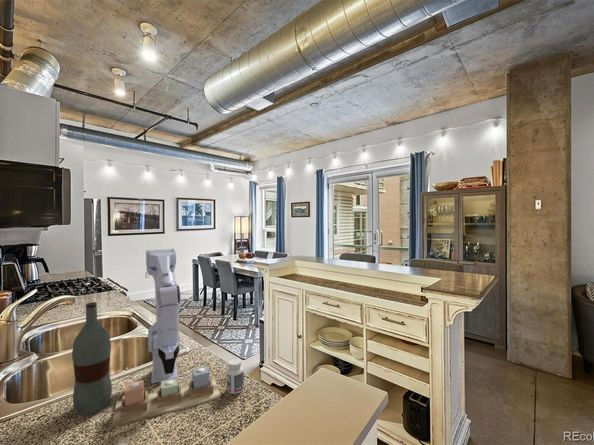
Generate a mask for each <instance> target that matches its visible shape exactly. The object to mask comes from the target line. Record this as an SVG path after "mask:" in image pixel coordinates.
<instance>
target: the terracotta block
mask: <svg viewBox="0 0 594 445" xmlns="http://www.w3.org/2000/svg"><path fill="white" fill-rule="evenodd" d="M144 385H145V384H144V379H142V380H137V381H133V382H132V381H131V382H128V383H125V388H124V396H125V407H126V406H130V405H134V404H138V403H142V402H143V400H144V391H145V389H144V387H145V386H144Z"/></svg>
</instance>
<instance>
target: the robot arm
mask: <svg viewBox="0 0 594 445" xmlns="http://www.w3.org/2000/svg"><path fill="white" fill-rule="evenodd" d="M176 264H177V251H176V249H175V248H167V249H166V248H164V249H147V250H146V251H145V266H146V272H147V275H149V276H152V278H153V281H154V291H155V292H154V293H155V294H154V295H155V317H156V319H155V320H156V321H155V322H154V323H153V324H151V326H150V327H149V328H148V330H147V333H148V334H147V348H148V350H147V351H148V352H149V353H151V354H152V369H151V379H150V380H151V384H156V383H157V384H158V383H161V381H165V380H170V379H174V378H177V379H178V369H177V365H176V364H177V363H176V361H177V360H176V359H177V357H178V355H179V354H180V344H181V335H180V327H179V326H180V325H179V324H180V317H179V316H180V315H179V310H180V309H179V307H180V305H181V300H182V299H181V298H182V296H181V289H180V288H181V287H180V286H179V285H178V283H177V281H176V277H175V274H174V272H175V269H176Z"/></svg>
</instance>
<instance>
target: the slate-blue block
mask: <svg viewBox="0 0 594 445" xmlns="http://www.w3.org/2000/svg"><path fill="white" fill-rule="evenodd" d="M209 376H210V370H209V367H208V365H206V366H201V367H196V368H192V380H193V387H194V389H198V388H202V387H206V386H209Z"/></svg>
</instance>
